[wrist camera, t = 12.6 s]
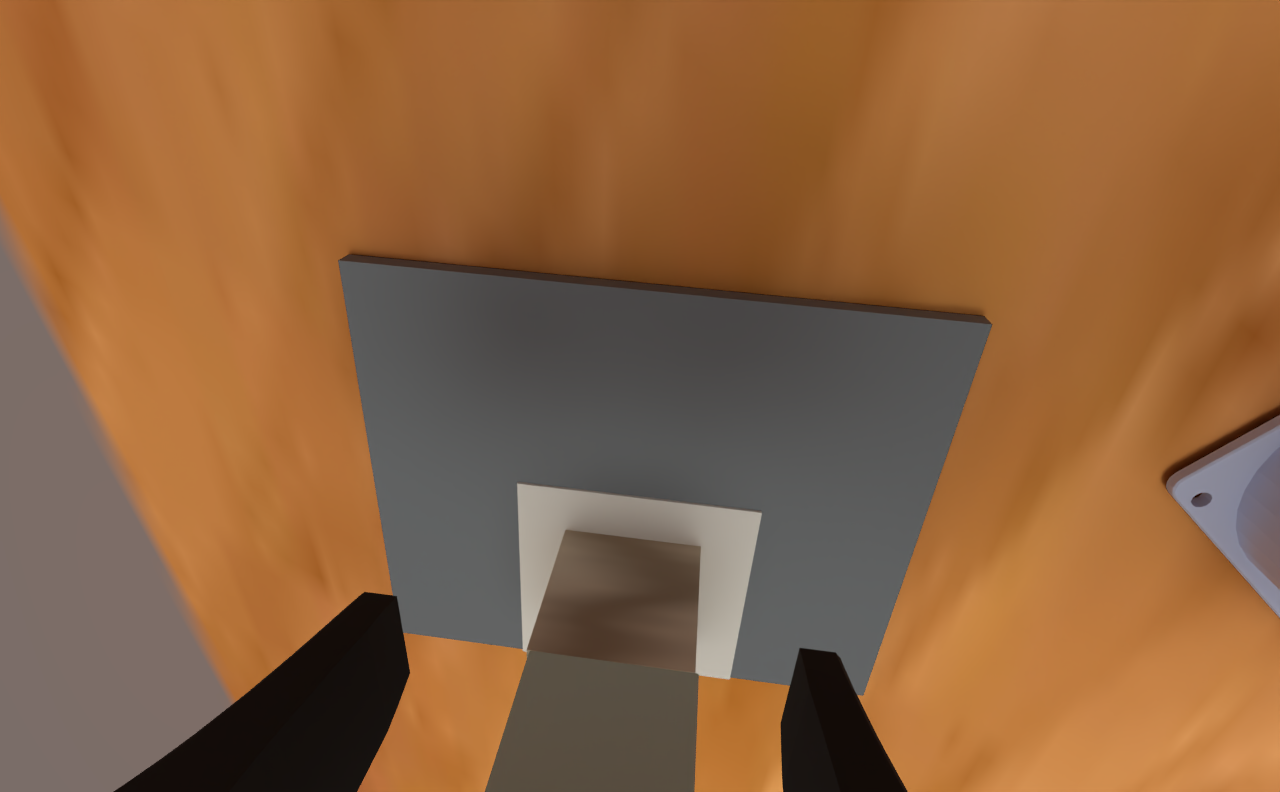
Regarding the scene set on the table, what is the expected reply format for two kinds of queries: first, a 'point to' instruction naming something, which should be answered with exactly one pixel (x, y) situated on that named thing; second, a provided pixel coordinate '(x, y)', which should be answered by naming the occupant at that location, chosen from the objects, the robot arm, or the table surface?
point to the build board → (653, 448)
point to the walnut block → (621, 602)
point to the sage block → (598, 728)
